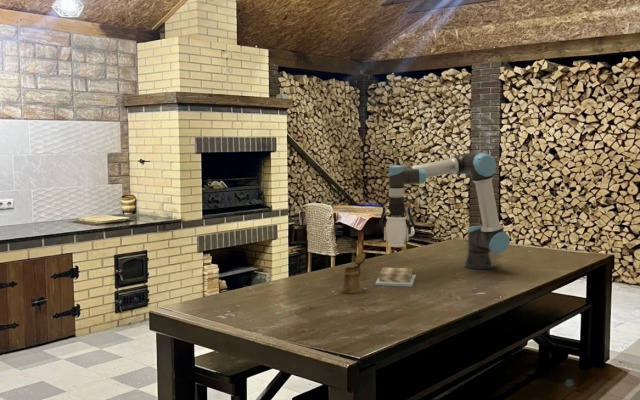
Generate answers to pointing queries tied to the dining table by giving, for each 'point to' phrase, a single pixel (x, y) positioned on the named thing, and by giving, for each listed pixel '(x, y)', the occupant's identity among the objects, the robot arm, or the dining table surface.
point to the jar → (396, 230)
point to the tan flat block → (395, 275)
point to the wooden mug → (353, 275)
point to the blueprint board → (396, 283)
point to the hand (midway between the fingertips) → (396, 240)
